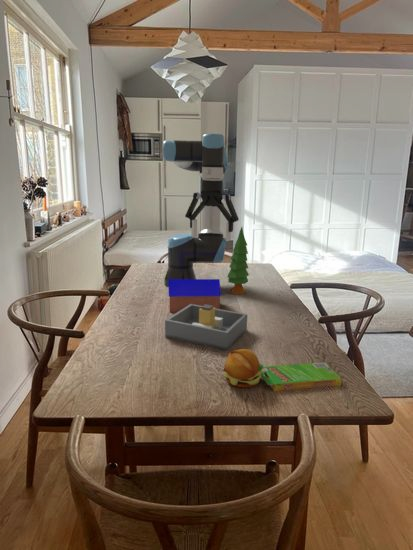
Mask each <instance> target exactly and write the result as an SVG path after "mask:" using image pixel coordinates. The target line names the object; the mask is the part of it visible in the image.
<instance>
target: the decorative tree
mask: <svg viewBox="0 0 413 550" xmlns="http://www.w3.org/2000/svg"><path fill="white" fill-rule="evenodd" d="M247 247H248V243H247V240H246V238H245V235H244V229H243V226H241V228H240V230H239V232H238V236H237V239H236V241H235V243H234V247H233V249H232V250H233V253H232V255H231V257H230V260H231V262H230V264H229V269H230V270H229V272H228V274H227V281H228V283H230V284H234V286H233V288H232V289H231V293H230V294H232V295H233V294H234V295H243V294H245V293H246V291H245V289H244V286H243V285H245V284H247V283H248V282H249V280H248V276H249V275H250V274H249V272H248V270H247V269H249V266H248V265H249V264H248V263H247V261H248V257H247V255H248V254H249V253H248V252H249V251H248V248H247Z"/></svg>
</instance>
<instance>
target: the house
mask: <svg viewBox="0 0 413 550" xmlns="http://www.w3.org/2000/svg"><path fill="white" fill-rule="evenodd" d="M220 281H221V280H220V279H217V278H216V279H215V278H211V279H208V278H205V279H202V278H196V279H169V287H168V297H169V313H177V312H179V311H180V310H182V309H183V308H185V307H187V306H188V305H190V304H193V305H199V306H203V305H205V304H207V305H212V306H213V307H214V308H215V309H221V308H220V307H221V306H220V303H221V302H220V301H221V297H222V294H221V292H222V291H221V283H220Z"/></svg>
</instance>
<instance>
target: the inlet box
mask: <svg viewBox="0 0 413 550" xmlns="http://www.w3.org/2000/svg"><path fill="white" fill-rule="evenodd" d="M201 307H202V306H199V305H193V304H190V305H188V306H187V307H185V308H183V309H182V310H180V311H179V312H175V313H174V314H172V315H171V316H169V317H168V318H165V320H164V337H165V338H168V339H171V340H176V341H180V342H184V343H185V342H186V343H190V344H194V345H198V346H203V347H208V348H212V349H217V350H222V351H229V350H230V349H231V347H232V346H233V345H234V344H235V343H236V342H237V341H238V340H239V339H240V338H241V337H242V336H243V335H244V334H245V333H246V332H247V331H248V329H247V328H248V314H247V313H242V312H237V311H233V310H232V311H231V310H227V309H226V310H225V309H221V308H220V309H215V329H213V326H210V325H205V324H200V323H199V309H200V308H201Z"/></svg>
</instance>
